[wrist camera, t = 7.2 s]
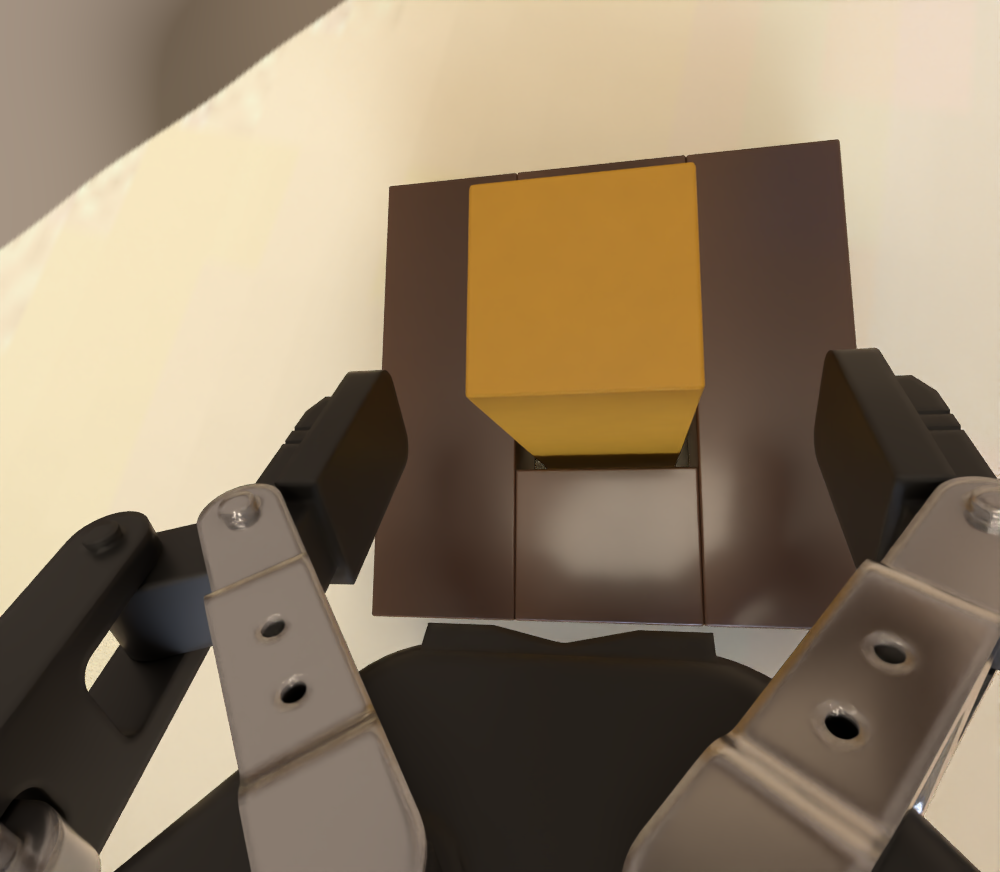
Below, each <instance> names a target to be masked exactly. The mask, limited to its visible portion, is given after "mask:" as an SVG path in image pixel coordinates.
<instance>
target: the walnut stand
mask: <svg viewBox="0 0 1000 872" xmlns="http://www.w3.org/2000/svg"><path fill="white" fill-rule="evenodd" d="M689 162H692V163H694V164H695V166H696V181H697V205H698V228H699V252H700V275H701V299H702V323H703V346H704V370H705V387H704V389H703V392H702V395H701V397H700V400H699V403H698V406H697V408H696V411H695V414H694V416H693V419H692V422H691V424H690V427H689V430H688V457H689V467H655V468H588V469H535V457H534V456H533V455H532V454H531V453H529V452H528V451H527V450H526V449H525V448H524V447H523V446H521V445H520V444H519V443H518V442H517V441H516V440H515V439H513V438H512V437H511V436H510V435H509V434H508V433H507V432H505V431H504V430H503V429H502V428H501V427H500V426H499V425H497V424H496V423H495V422H494V421H493V420H492V419H491V418H489V417H488V416H487V415H486V414H485V413H484V412H483V411H481V410H480V409H479V408H478V407H477V406H476V405H475V404H474V403H472V402H471V401H470V400H469V399H468V398H467V397H466V395H465V386H466V333H467V280H468V226H469V189H470V186H471V185H476V184H486V183H496V182H505V181H515V180H525V179H534V178H544V177H553V176H563V175H573V174H582V173H592V172H602V171H611V170H621V169H631V168H640V167H650V166H660V165H669V164H679V163H689ZM845 349H857V348H856V336H855V324H854V311H853V299H852V287H851V275H850V263H849V250H848V238H847V226H846V214H845V201H844V189H843V177H842V165H841V152H840V142H839V140H827V141H818V142H808V143H799V144H789V145H780V146H771V147H761V148H752V149H742V150H733V151H723V152H714V153H704V154H695V155H688V156H687V157H685V156H684V155H682V156H673V157H663V158H654V159H644V160H635V161H625V162H616V163H606V164H597V165H588V166H578V167H569V168H559V169H550V170H540V171H531V172H521V173H518V175H517V174H516V173H513V174H503V175H494V176H484V177H475V178H465V179H456V180H447V181H437V182H428V183H418V184H409V185H399V186H391V187H389V208H388V233H387V258H386V283H385V307H384V332H383V357H382V370H386V371H388V372H389V374H390V375H391V377H392V380H393V383H394V387H395V391H396V395H397V398H398V402H399V406H400V410H401V413H402V417H403V421H404V425H405V428H406V432H407V437H408V459H407V463H406V466H405V469H404V471H403V473H402V475H401V478H400V480H399V482H398V485H397V487H396V489H395V492H394V494H393V496H392V498H391V501H390V503H389V505H388V508H387V510H386V512H385V515H384V517H383V519H382V521H381V524H380V526H379V528H378V531H377V533H376V535H375V556H374V581H373V606H372V615H373V616H388V617H420V618H452V619H484V620H515V619H516V620H517V621H549V622H581V623H613V624H645V625H677V626H703V625H706V626H711V627H743V628H775V629H807V630H811V628H812V627H813V626H814V624H815V623H816V622H817V620H818V619H819V618H820V617H821V615H822V614H823V613H824V611H825V610H826V609H827V607H828V606H829V605H830V604H831V602H832V601H833V600H834V598H835V597H836V596H837V595H838V593H839V592H840V591H841V589H842V588H843V587H844V585H845V584H846V583H847V582H848V580H849V579H850V578H851V576H852V575H853V574H854V573H855V571H856V567H855V564H854V561H853V559H852V556H851V553H850V550H849V548H848V545H847V542H846V539H845V537H844V534H843V531H842V528H841V525H840V523H839V520H838V517H837V514H836V512H835V509H834V506H833V503H832V501H831V498H830V495H829V492H828V489H827V487H826V484H825V481H824V478H823V476H822V473H821V470H820V467H819V465H818V462H817V459H816V454H815V447H814V425H815V418H816V412H817V405H818V398H819V391H820V385H821V378H822V371H823V365H824V360H825V356H826V354H827V352H828V351H829V350H845Z"/></svg>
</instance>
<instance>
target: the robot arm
mask: <svg viewBox="0 0 1000 872" xmlns="http://www.w3.org/2000/svg"><path fill="white" fill-rule="evenodd" d="M285 442H286V444H283V445H282V446H281V448H280V449H279V451H278V452H277V453H276V455H275V456H274V458H273V459H272V460H271V462H270V463H269V465H268V466H267V468H266V469H265V470H264V472H263V473H262V475H261V476H260V478H259V479H258V480H257V482H256V483H255V484H249V485H244V486H240V487H237V488H234V489H232V490H230V491H227V492H225V493H223V494H222V495H220V496H218V497H217V498H215V499H214V500H213V501H211V502H210V503H209V504H208V505H207V506H206V507H205V508H204V509H203V511H202V512H201V514H200V515H199V518H198V521H197V523H196V524H192V525H188V526H183V527H179V528H175V529H170V530H166V531H162V532H157V533H156V532H155V530H154V528H153V527H152V525H151V523H150V522H149V520H148V518H147V517H146V516H145V515H144V514H142V513H139V512H134V511H127V512H119V513H115V514H111V515H108V516H105V517H103V518H100V519H98V520H96V521H94V522H92V523H90V524H88V525H87V526H85V527H83V528H82V529H80V530H79V531H78V532H76V533H75V534H74V535H73V536H72V537H71V538H70V539H69V540H68V541H67V542H66V543H65V544H64V545H63V546H62V548H61V549H60V550H59V551H58V552H57V553H56V554H55V556H54V557H53V558H52V559H51V560H50V561H49V562H48V564H47V565H46V566H45V567H44V568H43V569H42V570H41V571H40V573H39V574H38V575H37V576H36V577H35V578H34V579H33V581H32V582H31V583H30V584H29V585H28V586H27V587H26V589H25V590H24V591H23V592H22V593H21V594H20V595H19V597H18V598H17V599H16V600H15V601H14V602H13V603H12V605H11V606H10V607H9V608H8V609H7V610H6V611H5V613H4V614H3V615H2V616H1V617H0V872H101V862H100V858H99V855H100V853H101V851H102V849H103V847H104V845H105V843H106V841H107V840H108V838H109V836H110V834H111V832H112V830H113V828H114V826H115V825H116V823H117V821H118V819H119V817H120V815H121V813H122V811H123V810H124V808H125V806H126V804H127V802H128V800H129V798H130V797H131V795H132V793H133V791H134V789H135V787H136V785H137V783H138V782H139V780H140V778H141V776H142V774H143V772H144V770H145V768H146V767H147V765H148V763H149V761H150V759H151V757H152V755H153V754H154V752H155V750H156V748H157V746H158V744H159V742H160V740H161V739H162V737H163V735H164V733H165V731H166V729H167V727H168V725H169V724H170V722H171V720H172V718H173V716H174V714H175V712H176V711H177V709H178V707H179V705H180V703H181V701H182V699H183V697H184V696H185V694H186V692H187V690H188V688H189V686H190V684H191V682H192V681H193V679H194V677H195V675H196V673H197V671H198V669H199V667H200V666H201V664H202V662H203V660H204V658H205V656H206V654H207V653H208V651H209V649H210V647H211V646H213V649H214V654H215V658H216V663H217V668H218V673H219V678H220V682H221V687H222V692H223V697H224V702H225V706H226V711H227V716H228V721H229V726H230V730H231V735H232V740H233V745H234V749H235V754H236V759H237V764H238V770H237V771H236V772H235V773H233V774H232V775H231V776H230V777H228V778H227V779H226V780H225V781H224V782H222V783H221V784H220V785H219V786H218V787H216V788H215V789H214V790H213V791H211V792H210V793H209V794H208V795H207V796H205V797H204V798H203V799H202V800H200V801H199V802H198V803H197V804H196V805H194V806H193V807H192V808H191V809H190V810H188V811H187V812H186V813H185V814H183V815H182V816H181V817H180V818H179V819H177V820H176V821H175V822H174V823H172V824H171V825H170V826H169V827H168V828H166V829H165V830H164V831H163V832H162V833H160V834H159V835H158V836H157V837H155V838H154V839H153V840H152V841H151V842H149V843H148V844H147V845H146V846H144V847H143V848H142V849H141V850H140V851H138V852H137V853H136V854H135V855H133V856H132V857H131V858H130V859H129V860H127V861H126V862H125V863H124V864H123V865H121V866H120V867H119V868H118V869H116V870H115V871H114V872H981V871H979V870H978V869H977V868H976V867H975V866H974V865H973V864H972V863H971V862H970V861H969V860H968V859H967V858H966V857H965V856H964V855H963V854H962V853H961V852H960V851H959V850H957V849H956V848H955V847H954V846H953V845H952V844H951V843H950V842H949V841H948V840H947V839H946V838H945V837H944V836H943V835H942V834H941V833H940V832H939V831H938V830H937V829H936V828H934V827H933V826H932V825H931V824H930V823H929V822H928V821H927V820H926V819H925V818H924V815H925V813H926V811H927V809H928V806H929V804H930V802H931V800H932V798H933V796H934V794H935V792H936V790H937V788H938V786H939V784H940V781H941V779H942V777H943V775H944V773H945V771H946V769H947V767H948V765H949V763H950V761H951V759H952V757H953V755H954V753H955V751H956V749H957V747H958V745H959V744H960V742H961V740H962V738H963V736H964V734H965V732H966V730H967V728H968V726H969V724H970V722H971V720H972V718H973V717H974V715H975V713H976V711H977V709H978V707H979V705H980V703H981V701H982V699H983V697H984V695H985V693H986V691H987V690H988V688H989V686H990V684H991V682H992V680H993V678H994V676H995V674H996V672H997V670H1000V479H997V478H996V476H995V475H994V473H993V472H992V470H991V469H990V468H989V466H988V465H987V463H986V462H985V460H984V459H983V457H982V456H981V454H980V453H979V452H978V450H977V449H976V447H975V446H974V444H973V443H972V441H971V440H970V438H969V437H968V436H967V434H966V433H965V431H964V430H961V425H960V424H959V422H958V421H957V420H956V418H955V417H954V415H953V414H950V409H949V408H948V406H947V405H946V404H945V402H944V401H943V399H942V398H941V396H940V395H939V393H938V392H937V391H936V390H934V389H933V388H931V387H930V386H928V385H926V384H925V383H923V382H922V381H920V380H919V379H917V378H915V377H914V376H912V375H906V376H895V375H894V373H893V372H892V370H891V368H890V367H889V365H888V363H887V362H886V360H885V359H884V357H883V355H882V354H881V352H880V351H879V349H877V348H866V349H845V350H829V351H828V352H827V354H826V356H825V360H824V365H823V371H822V378H821V385H820V391H819V398H818V405H817V412H816V418H815V425H814V447H815V454H816V459H817V462H818V465H819V467H820V470H821V473H822V476H823V478H824V481H825V484H826V487H827V489H828V492H829V495H830V498H831V501H832V503H833V506H834V509H835V512H836V514H837V517H838V520H839V523H840V525H841V528H842V531H843V534H844V537H845V539H846V542H847V545H848V548H849V550H850V553H851V556H852V559H853V561H854V564H855V567H856V571H855V573H854V574H853V575H852V576H851V578H850V579H849V580H848V582H847V583H846V584H845V585H844V587H843V588H842V589H841V591H840V592H839V593H838V595H837V596H836V597H835V598H834V600H833V601H832V602H831V604H830V605H829V606H828V607H827V609H826V610H825V611H824V613H823V614H822V615H821V617H820V618H819V619H818V620H817V622H816V623H815V624H814V626H813V627H812V628H811V630H810V631H809V632H808V633H807V635H806V636H805V637H804V639H803V640H802V641H801V642H800V644H799V645H798V646H797V648H796V649H795V650H794V652H793V653H792V654H791V655H790V657H789V658H788V659H787V661H786V662H785V663H784V664H783V666H782V667H781V668H780V670H779V671H778V672H777V674H776V675H775V676H774V677H773V679H771V678H769V677H767V676H766V675H764V674H762V673H760V672H758V671H756V670H754V669H752V668H750V667H748V666H745V665H742V664H740V663H737V662H734V661H732V660H729V659H725V658H721V657H718V656H716V653H715V644H714V636H713V633H700V632H672V631H644V630H637V631H632V632H626V633H620V634H615V635H609V636H604V637H598V638H592V639H587V640H581V641H575V642H569V643H560V642H555V641H551V640H547V639H543V638H540V637H536V636H532V635H529V634H525V633H521V632H517V631H514V630H510V629H506V628H502V627H499V626H495V625H475V624H446V623H428V626H427V629H426V632H425V636H424V639H423V642H422V645H418V646H413V647H410V648H406V649H403V650H400V651H397V652H395V653H392V654H390V655H387V656H385V657H383V658H381V659H379V660H377V661H375V662H373V663H371V664H369V665H368V666H366V667H365V668H363V669H362V670H360V671H359V672H358V670H357V667H356V665H355V663H354V660H353V658H352V656H351V653H350V651H349V649H348V646H347V644H346V642H345V639H344V637H343V635H342V633H341V630H340V628H339V626H338V623H337V621H336V619H335V616H334V614H333V612H332V609H331V607H330V605H329V602H328V600H327V598H326V595H325V593H326V591H327V588H328V586H329V584H354V583H355V581H356V579H357V577H358V574H359V572H360V570H361V567H362V565H363V563H364V560H365V558H366V556H367V554H368V551H369V549H370V547H371V544H372V542H373V540H374V537H375V535H376V533H377V531H378V528H379V526H380V524H381V521H382V519H383V517H384V515H385V512H386V510H387V508H388V505H389V503H390V501H391V498H392V496H393V494H394V492H395V489H396V487H397V485H398V482H399V480H400V478H401V475H402V473H403V471H404V469H405V466H406V463H407V459H408V437H407V432H406V428H405V425H404V421H403V417H402V413H401V410H400V406H399V402H398V398H397V395H396V391H395V387H394V383H393V380H392V377H391V375H390V374H389V372H388V371H386V370H374V371H352V372H348V373H347V374H346V376H345V377H344V379H343V380H342V382H341V383H340V385H339V386H338V388H337V389H336V391H335V392H334V394H333V395H332V397H325V398H323V399H322V400H321V401H319V402H318V403H317V404H315V405H314V406H313V407H311V408H310V409H309V410H307V411H306V412H305V413H304V415H303V416H302V418H301V419H300V421H299V422H298V423H297V425H296V426H295V431H292V432H291V433H290V435H289V436H288V438H287V439H286V441H285ZM109 630H110V631H111V632H112V634H113V635H114V636H115V638H116V639H117V641H118V642H119V644H120V645H119V647H118V648H117V650H116V651H115V653H114V654H113V656H112V657H111V659H110V660H109V662H108V663H107V665H106V666H105V668H104V669H103V671H102V672H101V674H100V675H99V677H98V678H97V680H96V681H95V683H94V684H93V686H92V687H91V689H90V690H89V692H88V691H87V688H86V685H85V670H86V666H87V663H88V661H89V659H90V657H91V656H92V654H93V653H94V651H95V650H96V648H97V647H98V646H99V644H100V643H101V641H102V640H103V638H104V637H105V636H106V634H107V633H108V631H109Z"/></svg>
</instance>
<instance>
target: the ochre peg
mask: <svg viewBox="0 0 1000 872" xmlns="http://www.w3.org/2000/svg"><path fill="white" fill-rule="evenodd" d="M704 387H705V370H704V346H703V323H702V299H701V275H700V252H699V228H698V205H697V181H696V166H695V164H694V163H692V162H689V163H679V164H669V165H660V166H650V167H640V168H631V169H621V170H611V171H602V172H592V173H582V174H573V175H563V176H553V177H544V178H534V179H525V180H515V181H505V182H496V183H486V184H476V185H471V186H470V189H469V226H468V280H467V333H466V386H465V395H466V397H467V398H468V399H469V400H470V401H471V402H472V403H474V404H475V405H476V406H477V407H478V408H479V409H480V410H481V411H483V412H484V413H485V414H486V415H487V416H488V417H489V418H491V419H492V420H493V421H494V422H495V423H496V424H497V425H499V426H500V427H501V428H502V429H503V430H504V431H505V432H507V433H508V434H509V435H510V436H511V437H512V438H513V439H515V440H516V441H517V442H518V443H519V444H520V445H521V446H523V447H524V448H525V449H526V450H527V451H528V452H529V453H531V454H532V455H533V456H534V457H535V458H536V459H537V460H539V461H540V462H541V463H542V464H543V465H544V466H545V467H547V468H548V469H588V468H655V467H675V465H676V462H677V459H678V456H679V454H680V451H681V448H682V446H683V443H684V440H685V438H686V435H687V432H688V430H689V427H690V424H691V422H692V419H693V416H694V414H695V411H696V408H697V406H698V403H699V400H700V397H701V395H702V392H703V389H704Z"/></svg>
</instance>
